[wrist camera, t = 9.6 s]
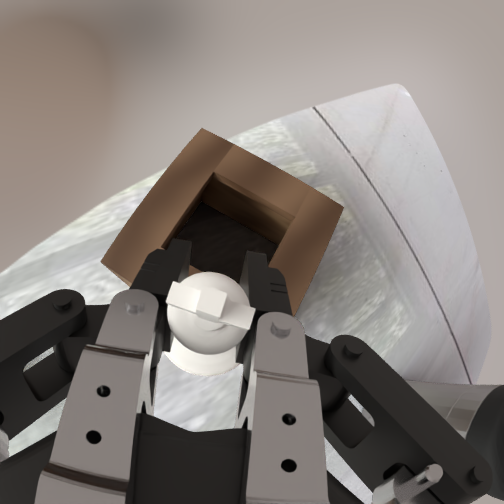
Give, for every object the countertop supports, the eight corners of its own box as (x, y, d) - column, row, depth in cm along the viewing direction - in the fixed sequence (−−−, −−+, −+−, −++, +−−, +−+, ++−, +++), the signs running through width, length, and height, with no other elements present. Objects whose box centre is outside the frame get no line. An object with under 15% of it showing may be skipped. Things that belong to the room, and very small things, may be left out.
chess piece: (239, 388, 14) (303, 462, 4) (144, 356, 14) (47, 377, 4) (266, 296, 15) (362, 222, 6) (175, 266, 15) (140, 148, 6)
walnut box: (299, 248, 36) (344, 207, 24) (244, 355, 31) (269, 363, 20) (198, 191, 36) (201, 128, 24) (133, 289, 31) (100, 261, 20)
